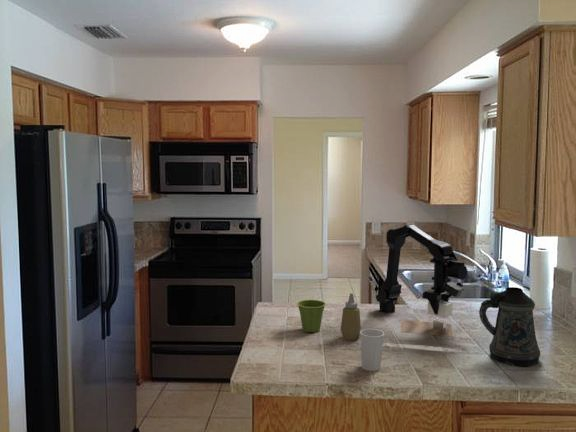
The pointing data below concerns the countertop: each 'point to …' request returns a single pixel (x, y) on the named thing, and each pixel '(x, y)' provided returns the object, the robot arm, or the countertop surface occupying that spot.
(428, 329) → the base board
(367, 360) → the cup
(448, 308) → the white slotted box
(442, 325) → the white wooden block
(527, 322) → the beer stein
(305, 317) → the plant pot
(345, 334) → the squeeze bottle
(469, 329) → the countertop surface
